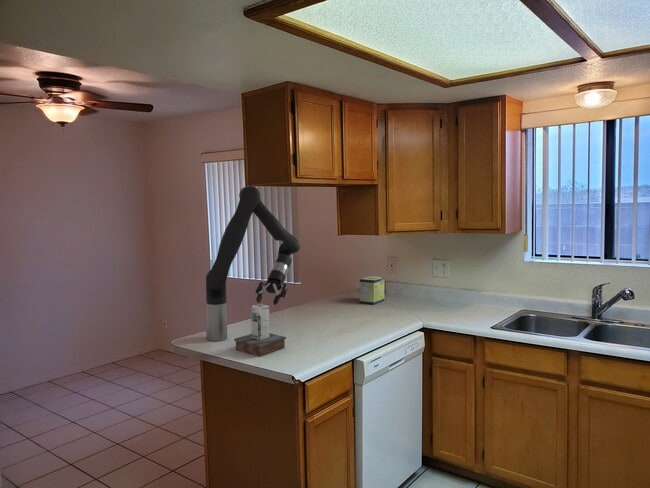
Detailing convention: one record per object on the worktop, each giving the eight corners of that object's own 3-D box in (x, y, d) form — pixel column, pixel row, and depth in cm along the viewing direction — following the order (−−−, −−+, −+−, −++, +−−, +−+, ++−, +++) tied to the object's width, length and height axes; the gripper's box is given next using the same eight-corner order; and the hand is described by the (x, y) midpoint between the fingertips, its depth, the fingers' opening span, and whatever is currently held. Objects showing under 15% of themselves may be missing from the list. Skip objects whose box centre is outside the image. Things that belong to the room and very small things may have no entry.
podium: (234, 350, 212) (234, 338, 212) (260, 341, 225) (260, 331, 224) (260, 357, 202) (259, 345, 202) (286, 348, 215) (286, 337, 214)
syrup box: (251, 337, 213) (250, 305, 212) (262, 335, 217) (261, 303, 216) (259, 340, 209) (258, 307, 208) (270, 337, 213) (269, 305, 212)
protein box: (384, 300, 316) (384, 277, 314) (373, 305, 302) (374, 280, 301) (370, 299, 321) (370, 275, 320) (359, 303, 308) (359, 279, 307)
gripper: (262, 268, 226) (249, 297, 217) (289, 270, 221) (277, 299, 211) (268, 278, 232) (255, 306, 222) (294, 279, 226) (283, 309, 216)
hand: (266, 303), depth 217 cm, fingers open, 8 cm apart
